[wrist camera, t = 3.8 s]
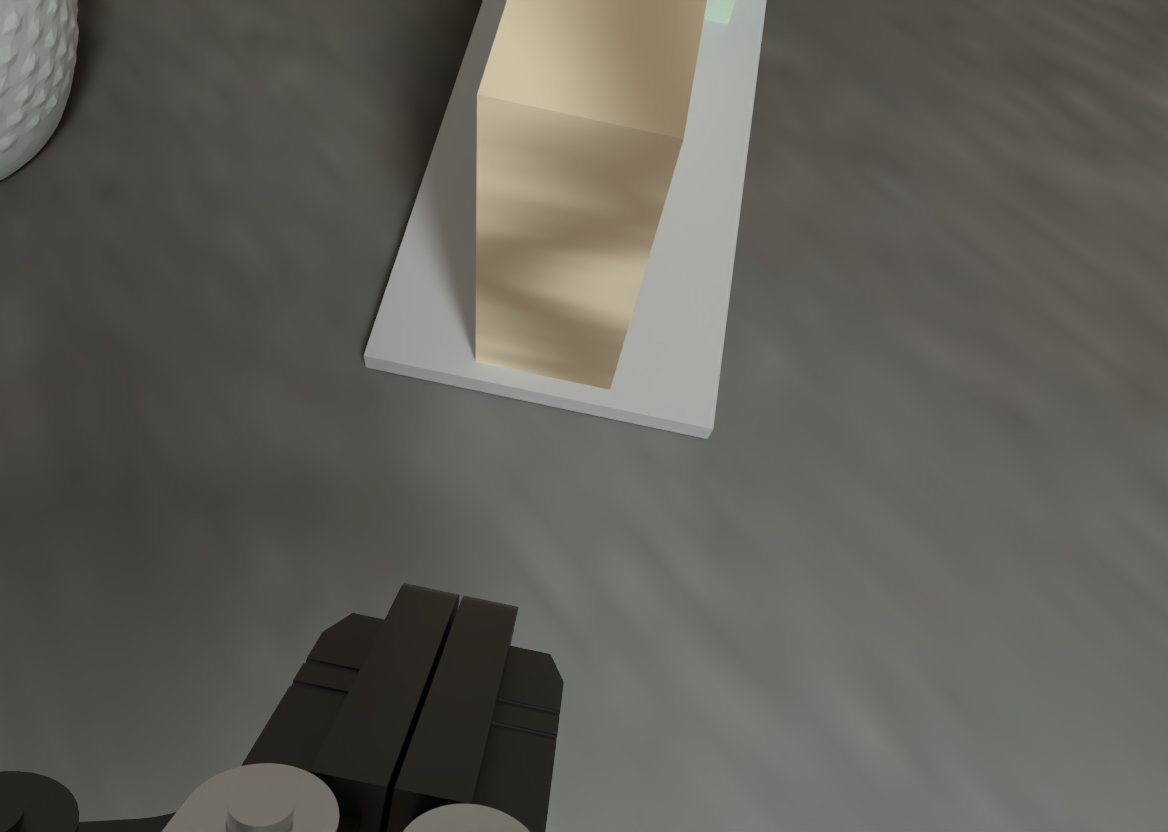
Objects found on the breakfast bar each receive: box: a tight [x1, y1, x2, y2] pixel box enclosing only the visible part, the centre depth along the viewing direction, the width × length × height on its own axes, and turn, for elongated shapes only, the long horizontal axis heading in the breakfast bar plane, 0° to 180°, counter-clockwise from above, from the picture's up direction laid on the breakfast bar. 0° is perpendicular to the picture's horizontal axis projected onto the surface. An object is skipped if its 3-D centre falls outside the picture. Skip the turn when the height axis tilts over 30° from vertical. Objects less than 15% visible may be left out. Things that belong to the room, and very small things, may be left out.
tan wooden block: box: [475, 0, 707, 390], centre depth 22 cm, size 4×12×9 cm, turn 170°
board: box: [364, 0, 766, 439], centre depth 28 cm, size 9×22×1 cm, turn 170°
